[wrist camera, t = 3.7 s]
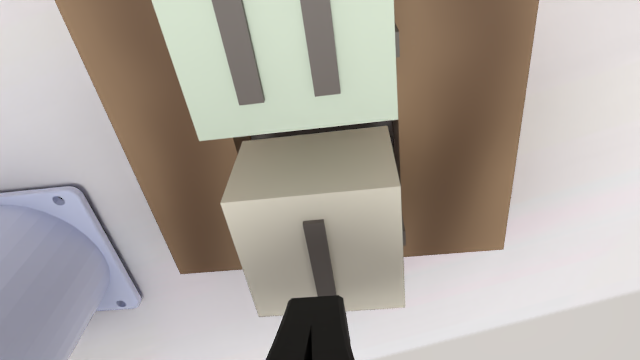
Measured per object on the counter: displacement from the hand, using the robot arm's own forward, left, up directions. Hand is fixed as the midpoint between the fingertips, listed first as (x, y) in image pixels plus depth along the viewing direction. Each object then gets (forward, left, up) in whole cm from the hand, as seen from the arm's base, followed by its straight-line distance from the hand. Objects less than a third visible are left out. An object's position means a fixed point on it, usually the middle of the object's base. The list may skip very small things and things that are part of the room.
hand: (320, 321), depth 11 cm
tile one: (0, 0, -6) cm, 6 cm away
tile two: (0, +7, -6) cm, 9 cm away
